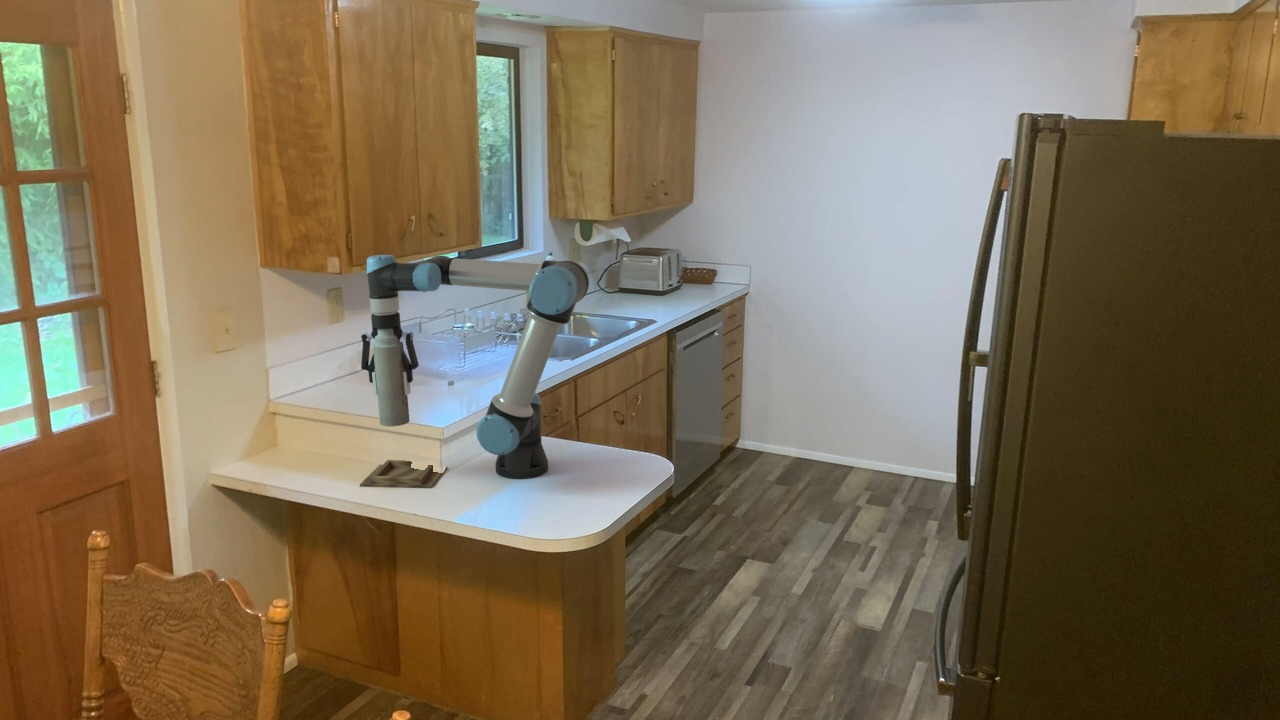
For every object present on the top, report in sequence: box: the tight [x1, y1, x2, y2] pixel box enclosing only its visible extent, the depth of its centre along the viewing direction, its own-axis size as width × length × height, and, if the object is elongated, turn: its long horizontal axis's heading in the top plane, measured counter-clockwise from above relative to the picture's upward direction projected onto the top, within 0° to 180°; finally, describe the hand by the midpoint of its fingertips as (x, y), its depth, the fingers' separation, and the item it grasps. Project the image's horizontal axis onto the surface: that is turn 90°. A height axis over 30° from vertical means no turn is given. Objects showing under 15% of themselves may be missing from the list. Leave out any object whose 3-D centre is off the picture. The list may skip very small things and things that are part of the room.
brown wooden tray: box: [359, 459, 443, 489], centre depth 260 cm, size 20×16×2 cm
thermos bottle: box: [372, 328, 410, 427], centre depth 253 cm, size 8×8×28 cm
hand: (392, 393), depth 254 cm, fingers closed on thermos bottle, 8 cm apart
